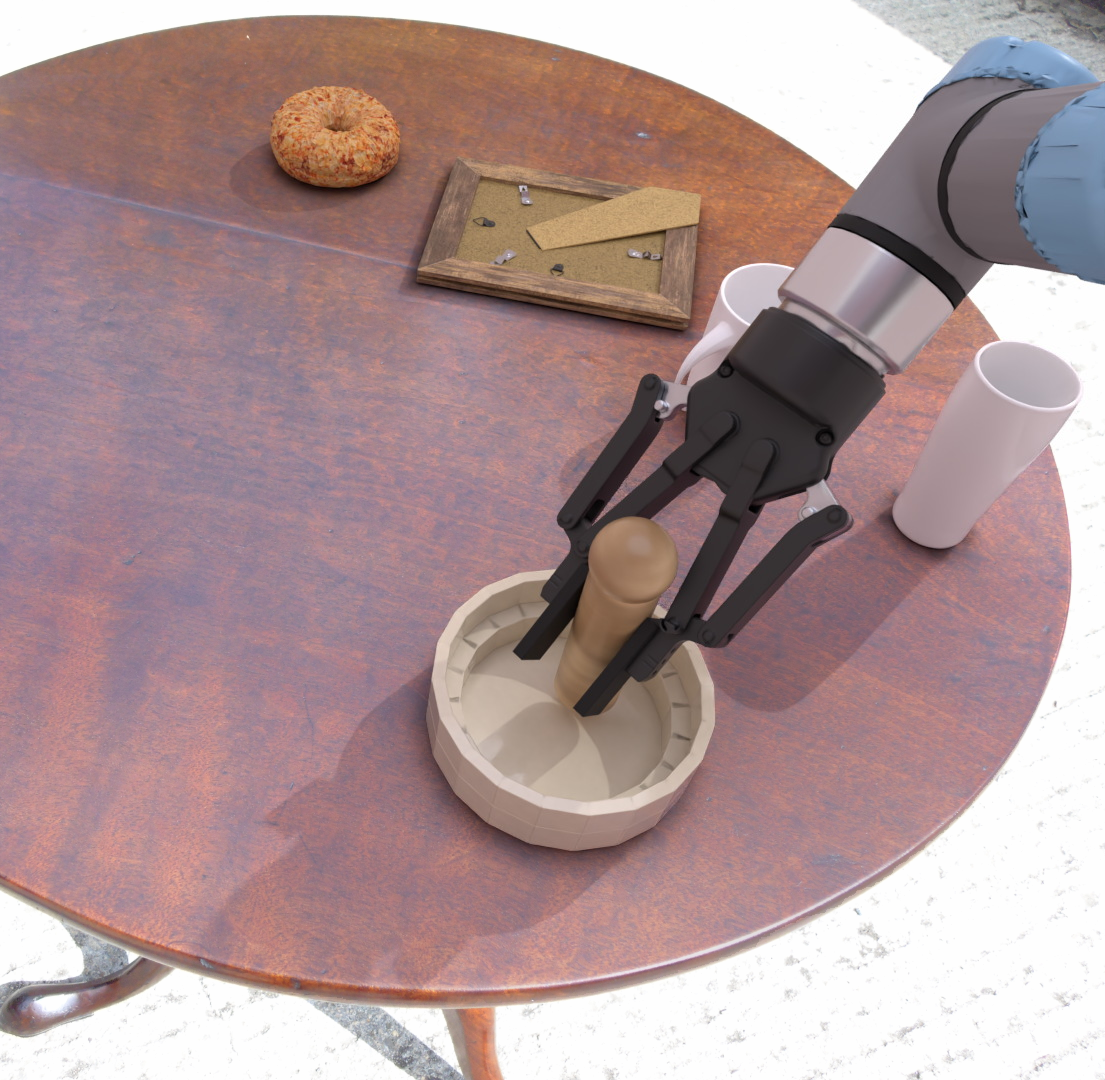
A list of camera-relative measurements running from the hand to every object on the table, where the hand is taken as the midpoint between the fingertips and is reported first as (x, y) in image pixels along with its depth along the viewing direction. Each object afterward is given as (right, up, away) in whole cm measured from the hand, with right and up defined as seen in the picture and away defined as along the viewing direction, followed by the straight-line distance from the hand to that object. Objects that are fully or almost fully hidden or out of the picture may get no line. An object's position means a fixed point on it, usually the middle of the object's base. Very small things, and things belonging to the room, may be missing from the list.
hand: (556, 682), depth 61 cm
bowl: (+1, -4, +7) cm, 8 cm away
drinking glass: (+30, +9, +19) cm, 37 cm away
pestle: (+3, -1, +5) cm, 6 cm away
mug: (+17, +18, +25) cm, 36 cm away
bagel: (-15, +46, +46) cm, 66 cm away
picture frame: (+7, +35, +38) cm, 52 cm away
